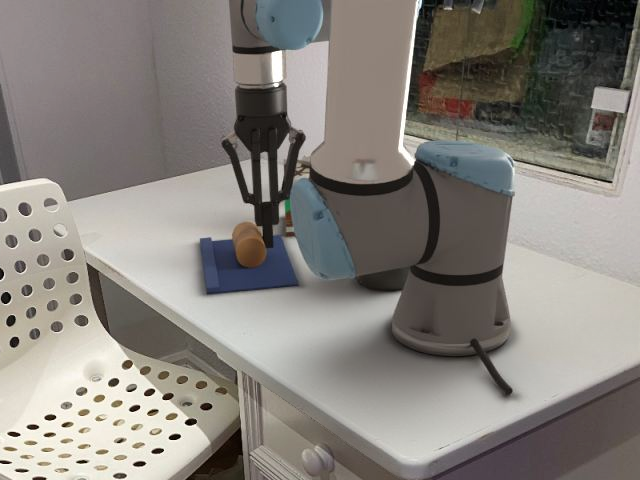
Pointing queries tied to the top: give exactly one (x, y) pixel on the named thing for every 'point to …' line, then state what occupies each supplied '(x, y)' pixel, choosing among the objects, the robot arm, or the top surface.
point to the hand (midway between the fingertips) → (268, 245)
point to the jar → (386, 279)
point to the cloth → (244, 268)
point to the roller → (248, 244)
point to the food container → (300, 172)
